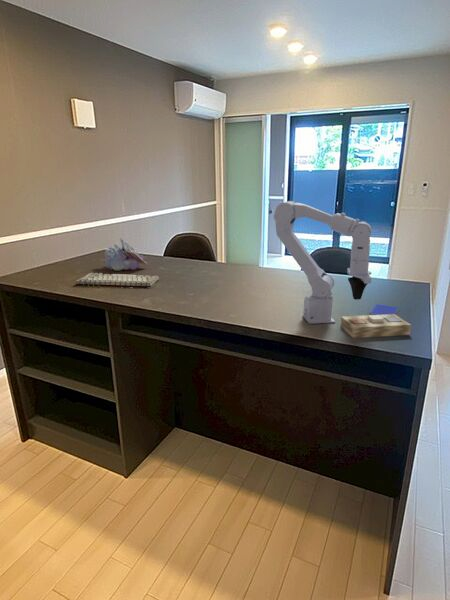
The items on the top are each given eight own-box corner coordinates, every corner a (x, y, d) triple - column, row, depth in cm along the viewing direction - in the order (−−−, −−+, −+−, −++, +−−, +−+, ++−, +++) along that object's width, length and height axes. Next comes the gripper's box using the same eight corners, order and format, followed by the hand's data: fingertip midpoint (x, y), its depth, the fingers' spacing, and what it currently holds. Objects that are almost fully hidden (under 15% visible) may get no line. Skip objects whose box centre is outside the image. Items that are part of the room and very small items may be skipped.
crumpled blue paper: (101, 257, 219) (99, 232, 206) (138, 252, 228) (139, 228, 215) (109, 282, 207) (108, 258, 195) (148, 276, 216) (150, 252, 203)
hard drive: (393, 317, 137) (398, 307, 147) (369, 313, 141) (376, 303, 151) (392, 321, 137) (397, 311, 147) (368, 317, 141) (375, 307, 151)
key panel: (353, 337, 122) (354, 327, 121) (340, 326, 131) (341, 316, 130) (409, 334, 124) (411, 324, 123) (392, 323, 134) (394, 314, 132)
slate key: (389, 327, 126) (390, 321, 125) (383, 323, 129) (384, 317, 129) (399, 326, 126) (400, 321, 126) (393, 322, 130) (394, 317, 129)
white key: (372, 325, 125) (373, 319, 124) (367, 321, 128) (367, 315, 128) (382, 324, 125) (383, 318, 125) (377, 320, 129) (378, 314, 128)
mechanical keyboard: (161, 279, 193) (161, 272, 192) (151, 290, 175) (151, 283, 174) (88, 278, 196) (87, 271, 195) (71, 289, 178) (70, 281, 177)
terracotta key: (354, 329, 125) (355, 323, 124) (349, 324, 128) (350, 319, 127) (364, 328, 125) (365, 322, 124) (360, 324, 128) (360, 318, 128)
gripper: (382, 263, 120) (378, 304, 124) (362, 254, 134) (359, 292, 138) (360, 264, 119) (357, 306, 123) (342, 255, 133) (340, 293, 137)
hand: (356, 298), depth 131 cm, fingers closed
